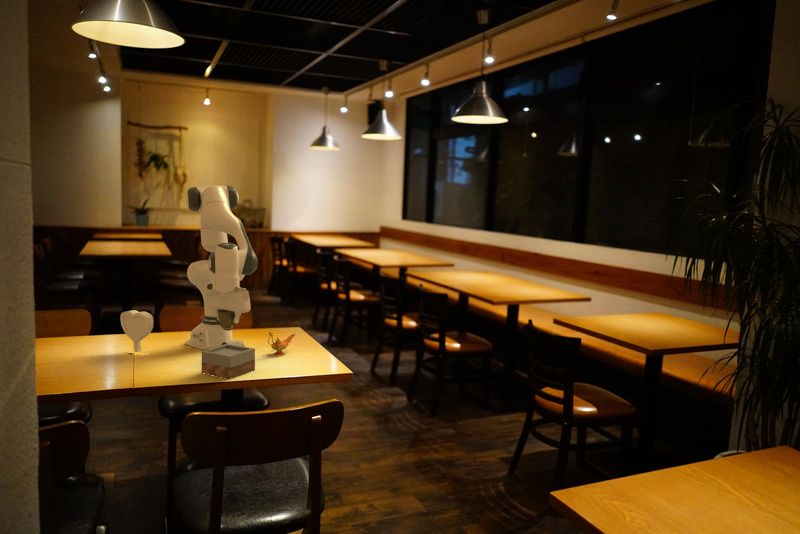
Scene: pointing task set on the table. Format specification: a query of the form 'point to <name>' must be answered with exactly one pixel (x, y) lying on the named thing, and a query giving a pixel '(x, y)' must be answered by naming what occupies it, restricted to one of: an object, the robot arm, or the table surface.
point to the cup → (226, 319)
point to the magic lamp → (280, 344)
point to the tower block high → (228, 355)
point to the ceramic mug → (233, 343)
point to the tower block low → (228, 369)
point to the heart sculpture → (137, 326)
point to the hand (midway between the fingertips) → (227, 321)
